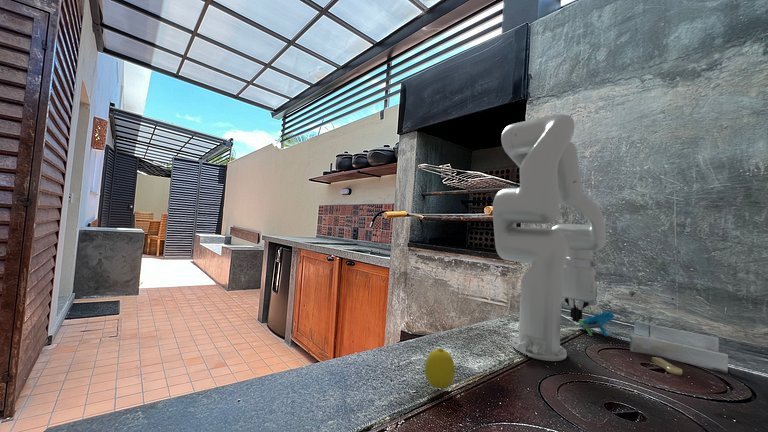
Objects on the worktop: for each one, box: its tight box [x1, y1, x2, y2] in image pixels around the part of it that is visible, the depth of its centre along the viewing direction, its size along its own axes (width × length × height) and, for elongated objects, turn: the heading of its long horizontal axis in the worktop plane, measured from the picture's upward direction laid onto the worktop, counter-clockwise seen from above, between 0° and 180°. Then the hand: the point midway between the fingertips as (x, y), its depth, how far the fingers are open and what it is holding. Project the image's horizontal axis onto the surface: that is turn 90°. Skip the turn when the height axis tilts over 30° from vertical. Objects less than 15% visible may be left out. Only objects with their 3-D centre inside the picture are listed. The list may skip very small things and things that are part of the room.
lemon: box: [424, 347, 456, 390], centre depth 59 cm, size 6×6×8 cm
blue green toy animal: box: [578, 311, 616, 338], centre depth 93 cm, size 11×6×10 cm
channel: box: [629, 319, 729, 374], centre depth 83 cm, size 20×18×4 cm
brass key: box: [651, 356, 683, 376], centre depth 72 cm, size 7×3×1 cm, turn 173°
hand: (576, 320), depth 99 cm, fingers closed
